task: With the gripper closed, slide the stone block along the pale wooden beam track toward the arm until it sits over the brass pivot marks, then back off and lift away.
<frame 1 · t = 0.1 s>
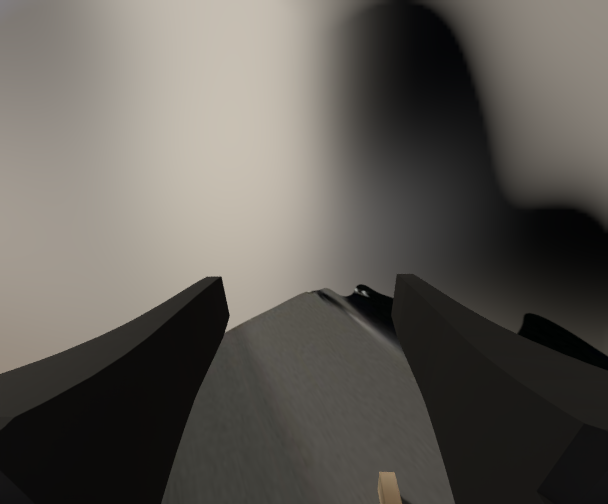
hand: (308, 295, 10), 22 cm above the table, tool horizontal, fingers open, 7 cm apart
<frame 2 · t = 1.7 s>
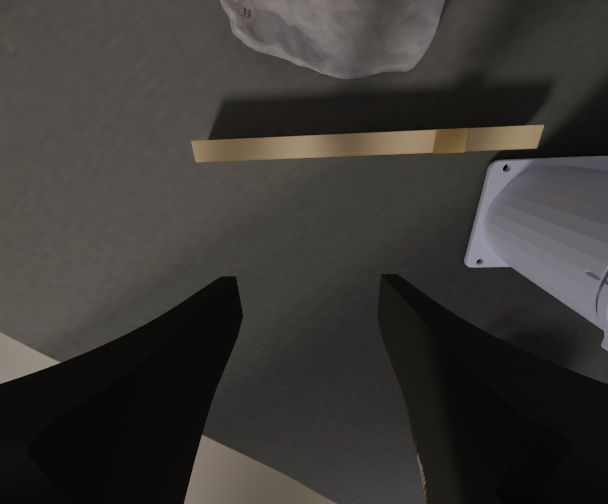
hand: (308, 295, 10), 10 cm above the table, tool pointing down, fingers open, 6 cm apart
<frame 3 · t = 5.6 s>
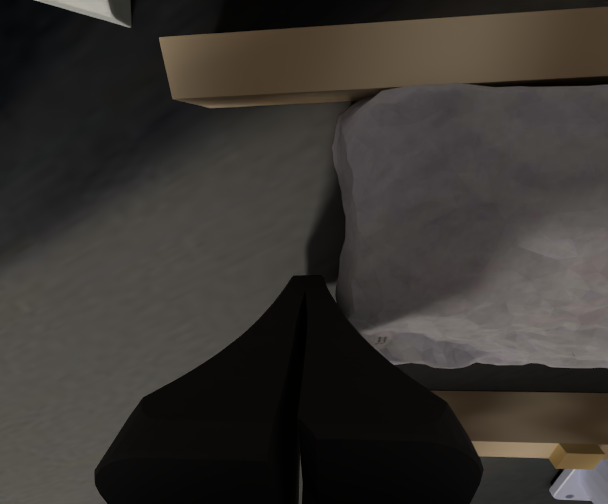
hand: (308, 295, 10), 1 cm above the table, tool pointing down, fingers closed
stone block: (473, 236, 10), on the table, touching gripper
beam track: (469, 282, 11), on the table
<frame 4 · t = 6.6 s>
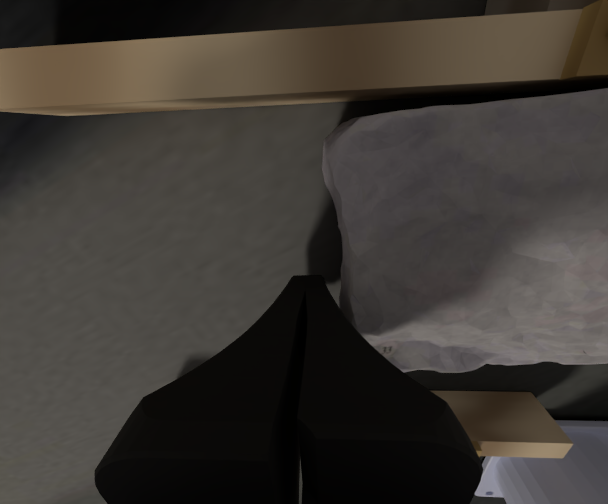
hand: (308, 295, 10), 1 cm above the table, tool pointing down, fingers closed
stone block: (472, 238, 10), on the table, touching gripper
beam track: (348, 283, 11), on the table
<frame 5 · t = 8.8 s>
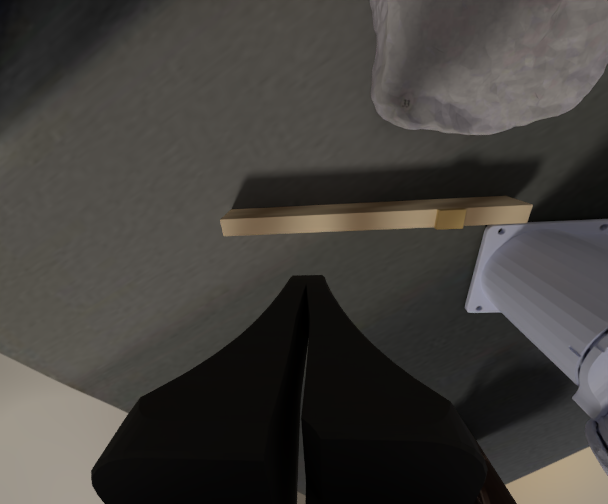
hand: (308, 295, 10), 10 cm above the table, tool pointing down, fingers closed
stone block: (465, 44, 15), on the table
coffee mug: (447, 428, 30), on the table
beam track: (368, 91, 16), on the table
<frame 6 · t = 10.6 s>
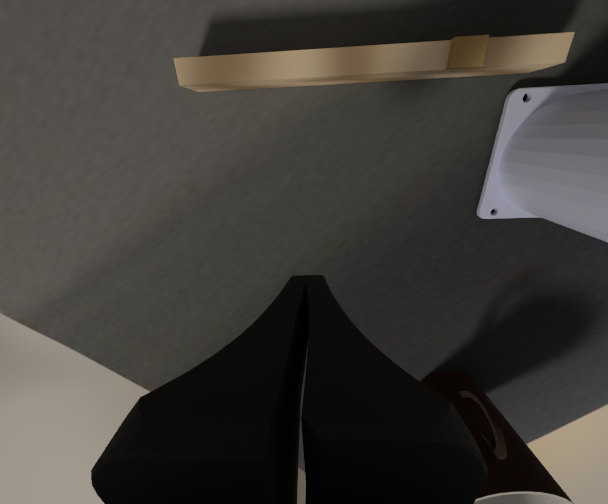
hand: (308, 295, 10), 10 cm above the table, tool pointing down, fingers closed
coffee mug: (449, 380, 26), on the table
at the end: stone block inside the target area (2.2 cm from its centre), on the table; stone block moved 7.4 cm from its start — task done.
